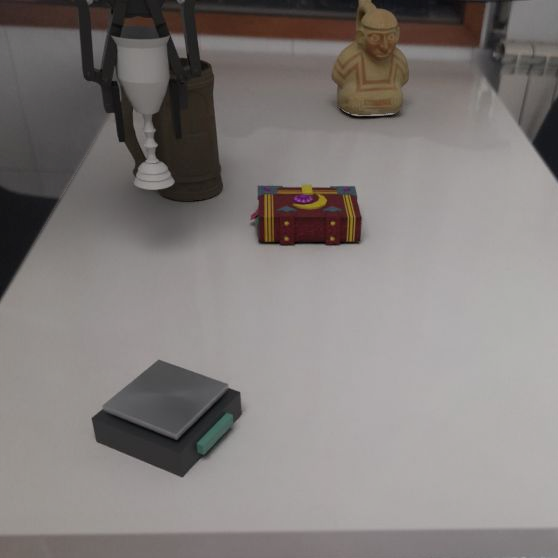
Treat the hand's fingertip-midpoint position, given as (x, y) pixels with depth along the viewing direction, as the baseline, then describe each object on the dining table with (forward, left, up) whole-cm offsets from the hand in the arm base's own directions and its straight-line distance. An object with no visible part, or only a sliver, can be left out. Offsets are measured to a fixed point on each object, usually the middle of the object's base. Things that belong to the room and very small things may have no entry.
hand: (149, 136), depth 89 cm
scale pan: (+22, -28, -13) cm, 38 cm away
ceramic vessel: (-4, +77, -17) cm, 79 cm away
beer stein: (-12, +19, -17) cm, 28 cm away
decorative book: (+12, +18, -17) cm, 28 cm away
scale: (+22, -28, -17) cm, 39 cm away
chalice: (0, 0, -6) cm, 6 cm away
